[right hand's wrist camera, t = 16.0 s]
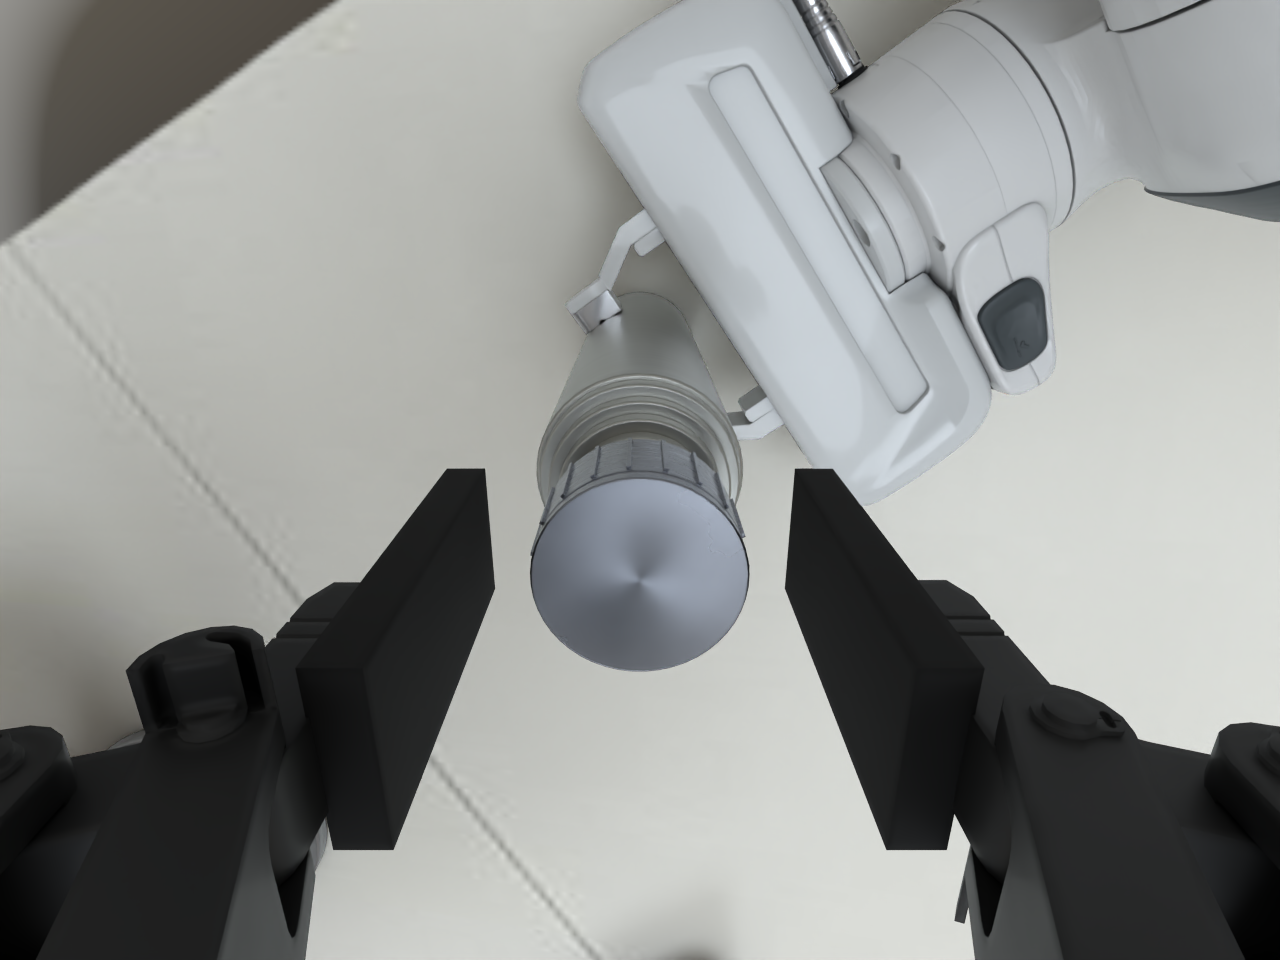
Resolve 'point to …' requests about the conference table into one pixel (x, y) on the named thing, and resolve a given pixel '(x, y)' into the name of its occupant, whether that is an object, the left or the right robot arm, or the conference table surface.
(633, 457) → the cap
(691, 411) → the bottle
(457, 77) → the conference table surface
